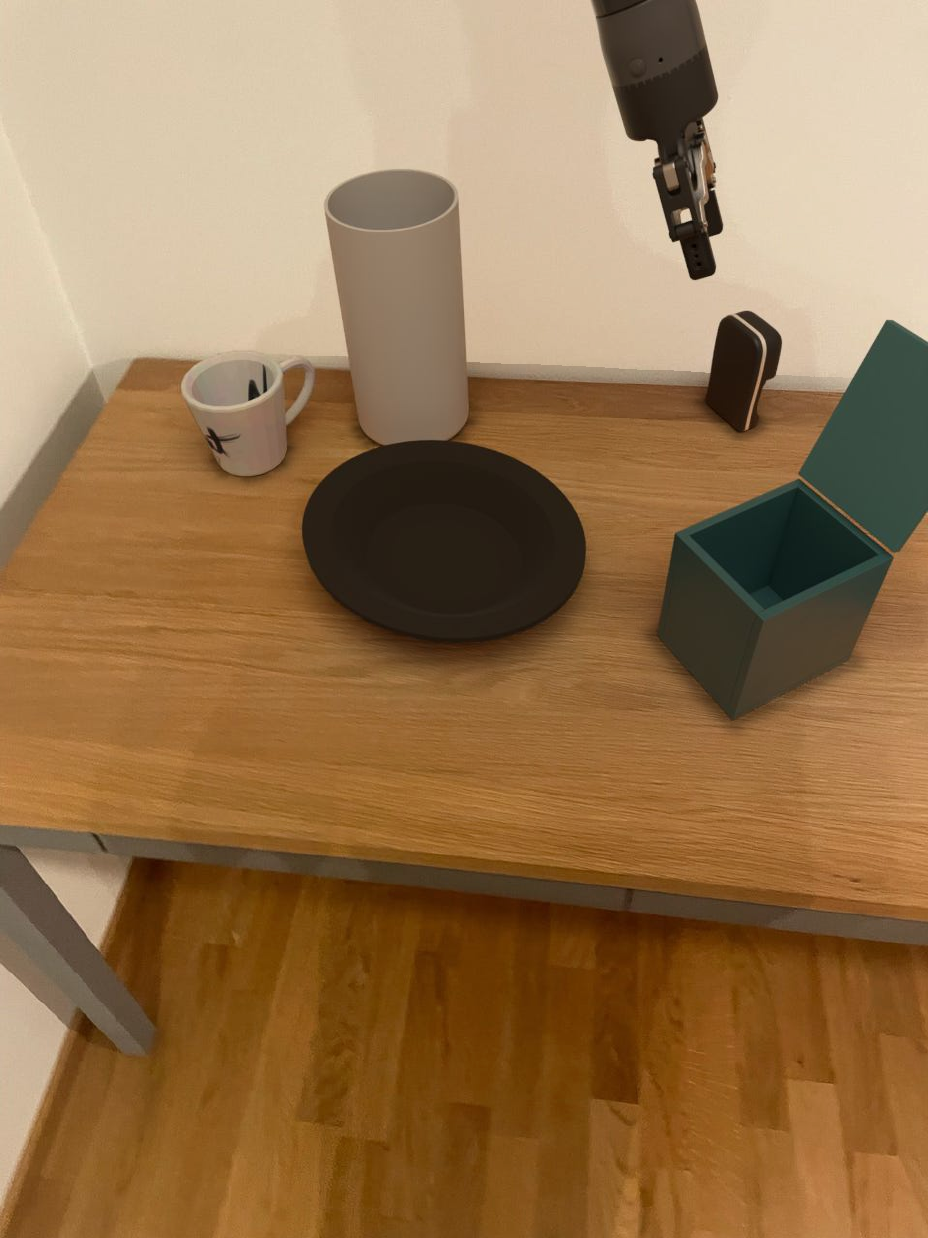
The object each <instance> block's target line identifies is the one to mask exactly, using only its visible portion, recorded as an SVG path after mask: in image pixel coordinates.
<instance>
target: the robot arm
mask: <svg viewBox="0 0 928 1238" xmlns="http://www.w3.org/2000/svg"><path fill="white" fill-rule="evenodd" d="M590 3H591V7H592V10H593V13H594V14H593V15H594V16H595V17H594V18H595V23H596V26H597V31H598V37H599V38H598V39H599V45H600V49H601V53H602V56H603V61H604V64H605V67H606V70H607V75H608V77H609V81H610V84H611V88H612V91H613V94H614V98H615V101H616V105H617V108H618V111H619V112H618V113H619V114H620V118H621V122H622V124H623V129H624V132H625V135H626V137H627V138H628V139H630V140H632V141H634V142H645V141H646V140H649V141H653V142H655V143H656V145H657V155H658V157H655V158H654V159H653V162H654V163H653V164H654V166H653V167H652V173H651V174H652V178H653V180H654V182H655V185H656V190H657V193H658V198H659V201H660V205H661V208H662V213H663V215H664V219H665V223H666V226H667V230H668V238H669V239H670V240H671V242H672V243H676V242H679V244H680V248H681V252H682V255H683V258H684V262H685V265H686V270H687V273H688V277H689V278H690V279H691V280H692V281H698V280H702V279H705V278H709V277H712V276H713V275H715V273H716V271H717V263H716V259H715V255H714V251H713V247H712V244H711V240H710V238H712V237H715V236H718V235H720V234H722V232H723V231H724V221H723V217H722V213H721V209H720V206H719V205H720V204H719V202H718V196H717V192H716V189H715V188H717V187H716V186H717V185H716V184H717V179H716V176H715V175H714V174H716V169H717V164H716V162H715V161H714V157H713V153H712V150H711V145H710V142H709V136H708V132H707V130H706V126H705V121H704V117H705V116H707V115H708V114H709V113H710V112H712V110H713V109H714V108H715V107H716V105H717V104H718V101H719V93H718V92H719V91H718V88H717V83H716V79H715V74H714V71H713V66H712V60H711V58H710V57H711V56H710V53H709V48H708V44H707V40H706V36H705V31H704V27H703V23H702V19H701V14H700V9H699V7H698V2H697V0H590ZM686 210H689V214H690V218H691V219H690V220H687V221H685V222H682V217H681V213H682V212H683V211H686Z"/></svg>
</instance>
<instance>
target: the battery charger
mask: <svg viewBox="0 0 928 1238" xmlns="http://www.w3.org/2000/svg"><path fill="white" fill-rule="evenodd" d="M782 348H783V338H782V335H781V334H780V332H779V331H778V330H777V329H776V328H775V327H774V326H772V324H770V323H769V322H767V321H766V320H765V319H763V318H762V317H761V316H759V315H758V314H757V313H755V312H753V311H752V310H742V311H738V312H736V313H730V314H727V315H725V316H724V317H723V318H722V319H721V320H720V321H719V324H718V327H717V332H716V336H715V341H714V347H713V352H712V359H711V365H710V372H709V379H708V383H707V384H708V385H707V390H706V395H705V402H706V403H707V404H708V405H709V406H710V407H711V408H712V409H713V410H714V411H715V412H716V413H717V414H718V415H719V416H720V417H722V418H723V419H724V420H725V421H726V422H727V423H728V424H730V425H731V426H732V427H733V428H734V429H735V430H737V431H738V432H742V431H743V432H746V431H748V430H749V429H751V428H753V427H755V426H756V425H758V423H759V421H760V416H759V414H758V405H759V402H760V398H761V395H762V391H763V389H764V387H765V385H766V384H767V381H769V380H773V379H774V378H775V377H776V376H777V372H778V368H779V364H780V359H781V355H782Z"/></svg>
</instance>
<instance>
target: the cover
mask: <svg viewBox="0 0 928 1238" xmlns="http://www.w3.org/2000/svg"><path fill="white" fill-rule="evenodd" d="M797 475H798V476H799V477H800V478H802V479H803V480H804V481H805V482H807V483H808V484H809V485H811V486H812V487H813V488H814V489H815V490H816V491H818V492H819V493H820V494H822V496H824V497H825V498H826V499H827V500H829V502H831V503H832V504H833V505H835V506H836V507H837V508H838V509H840V510H841V511H842V513H844V514H845V515H847V516H848V517H849V518H850V519H852V520H853V521H854V522H855V523H856V524H858V526H859V527H861V528H863V529H864V530H865V531H866V532H868V533H869V534H870V535H871V536H872V537H874V538H875V539H876V540H877V541H878V542H880V543H881V544H882V545H883V546H884V547H885V548H887V549H888V550H889V551H890V552H892V553H893V554H896V553H899V552H901V551H902V549H903V548H904V546H905V545H906V543H907V541H908V540H909V539H910V537H911V536H912V534H913V533H914V532H915V530H916V529H917V528H918V526H919V525H920V523H921V522H922V520H923V519H924V517H925V516H926V515H927V513H928V341H927V340H926V339H924V338H922V337H921V336H919V335H918V334H916V333H914V332H913V331H911V330H910V329H908V328H907V327H905V326H903V325H902V324H901V323H899V322H898V321H895V320H893V319H886V320H885V321H884V323H883V325H882V327H881V329H880V330H879V332H878V334H877V335H876V337H875V339H874V341H873V342H872V344H871V346H870V348H869V349H868V351H867V352H866V354H865V356H864V358H863V360H862V362H861V363H860V365H859V366H858V367H857V370H856V372H855V373H854V375H853V377H852V378H851V380H850V382H849V384H848V386H847V387H846V389H845V391H844V393H843V395H842V396H841V398H840V399H839V402H838V403H837V405H836V406H835V408H834V410H833V412H832V413H831V415H830V417H829V419H828V421H827V422H826V424H825V426H824V427H823V429H822V431H821V433H820V434H819V436H818V438H817V439H816V441H815V443H814V445H813V446H812V448H811V450H810V452H809V453H808V455H807V457H806V459H805V460H804V462H803V464H802V466H801V467H800V469H799V471H798V472H797Z"/></svg>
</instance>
